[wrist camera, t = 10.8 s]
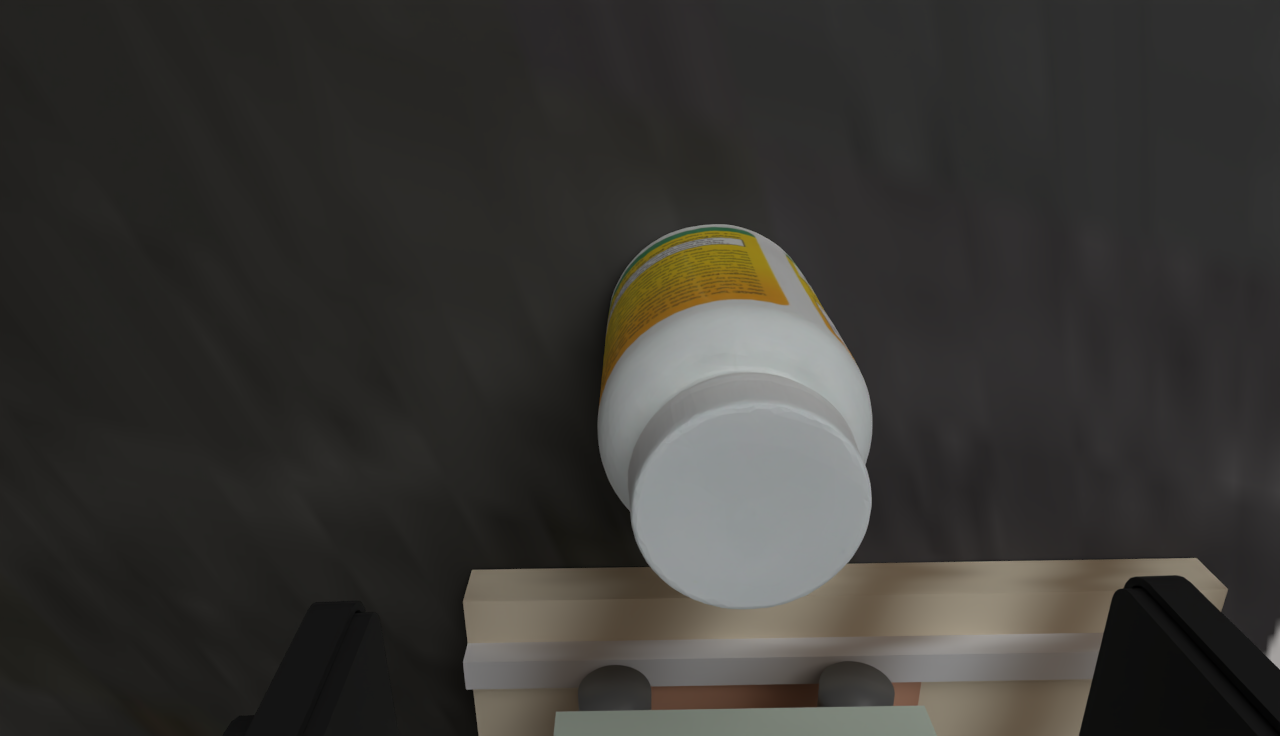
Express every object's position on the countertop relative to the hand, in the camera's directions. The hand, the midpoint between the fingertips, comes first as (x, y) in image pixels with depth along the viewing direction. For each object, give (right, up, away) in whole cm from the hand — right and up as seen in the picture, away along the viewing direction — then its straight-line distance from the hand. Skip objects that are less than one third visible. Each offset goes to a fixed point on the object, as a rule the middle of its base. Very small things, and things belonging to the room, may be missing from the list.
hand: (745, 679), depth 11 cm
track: (+5, -7, +17) cm, 20 cm away
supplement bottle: (0, +5, +12) cm, 13 cm away
